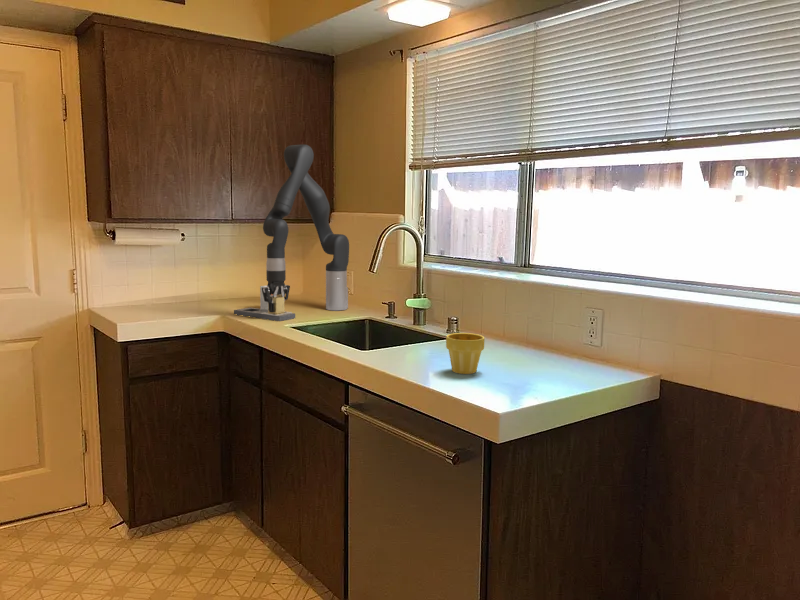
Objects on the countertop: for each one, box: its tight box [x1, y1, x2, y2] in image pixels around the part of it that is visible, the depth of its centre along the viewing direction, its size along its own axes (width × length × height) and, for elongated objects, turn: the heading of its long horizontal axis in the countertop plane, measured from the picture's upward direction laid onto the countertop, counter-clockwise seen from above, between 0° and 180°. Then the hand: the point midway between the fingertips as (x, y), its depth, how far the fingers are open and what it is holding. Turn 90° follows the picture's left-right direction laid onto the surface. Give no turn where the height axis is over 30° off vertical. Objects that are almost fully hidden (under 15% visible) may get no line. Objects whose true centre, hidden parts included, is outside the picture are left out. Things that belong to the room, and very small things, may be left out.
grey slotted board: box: [233, 307, 296, 322], centre depth 264 cm, size 9×26×2 cm, turn 56°
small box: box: [259, 285, 272, 310], centre depth 283 cm, size 8×6×10 cm
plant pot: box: [445, 332, 485, 375], centre depth 176 cm, size 10×10×10 cm
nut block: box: [268, 296, 285, 314], centre depth 259 cm, size 4×4×8 cm
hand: (276, 311), depth 260 cm, fingers closed on nut block, 4 cm apart
